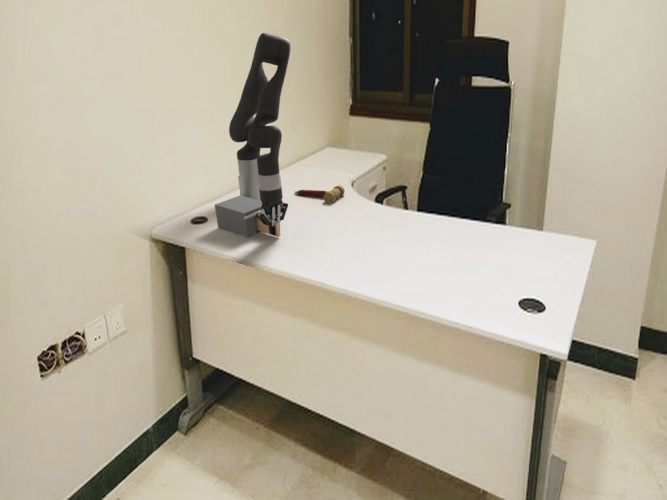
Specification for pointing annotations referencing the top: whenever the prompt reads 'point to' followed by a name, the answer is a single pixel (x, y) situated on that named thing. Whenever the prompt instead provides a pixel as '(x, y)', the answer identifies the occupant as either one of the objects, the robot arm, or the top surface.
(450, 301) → the top surface
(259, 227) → the ticket strip
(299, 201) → the top surface
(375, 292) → the top surface
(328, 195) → the gavel
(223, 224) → the dispenser
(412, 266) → the top surface
